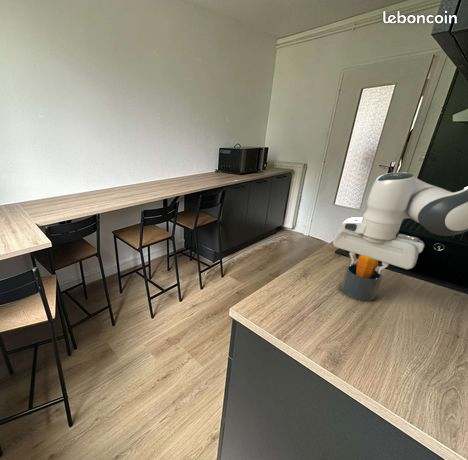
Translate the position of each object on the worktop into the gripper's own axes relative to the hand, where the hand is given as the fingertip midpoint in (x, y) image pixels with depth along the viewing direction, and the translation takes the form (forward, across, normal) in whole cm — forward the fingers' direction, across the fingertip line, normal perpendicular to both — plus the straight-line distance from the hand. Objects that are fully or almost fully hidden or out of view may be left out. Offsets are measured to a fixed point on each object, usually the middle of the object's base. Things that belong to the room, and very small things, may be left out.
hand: (365, 268), depth 80 cm
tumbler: (+9, 0, 0) cm, 9 cm away
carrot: (+6, 0, 0) cm, 6 cm away
